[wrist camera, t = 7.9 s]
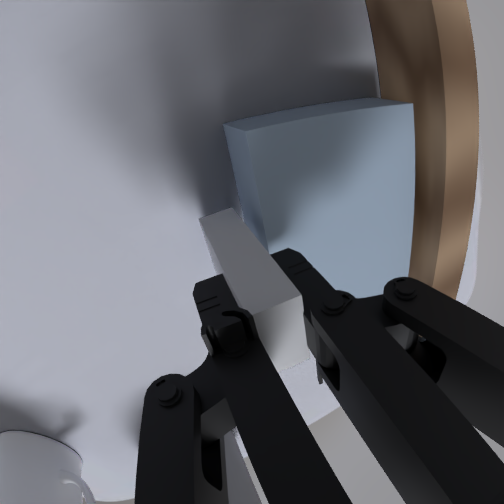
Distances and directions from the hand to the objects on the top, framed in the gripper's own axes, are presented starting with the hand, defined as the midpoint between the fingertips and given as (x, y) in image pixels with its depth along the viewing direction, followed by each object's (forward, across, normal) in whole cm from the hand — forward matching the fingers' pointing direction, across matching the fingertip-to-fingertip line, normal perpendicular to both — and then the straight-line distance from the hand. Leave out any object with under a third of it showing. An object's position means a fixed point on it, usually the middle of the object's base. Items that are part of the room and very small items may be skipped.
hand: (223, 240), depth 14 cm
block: (+2, +5, 0) cm, 6 cm away
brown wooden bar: (+1, +12, 0) cm, 12 cm away
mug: (+2, -20, -14) cm, 24 cm away
